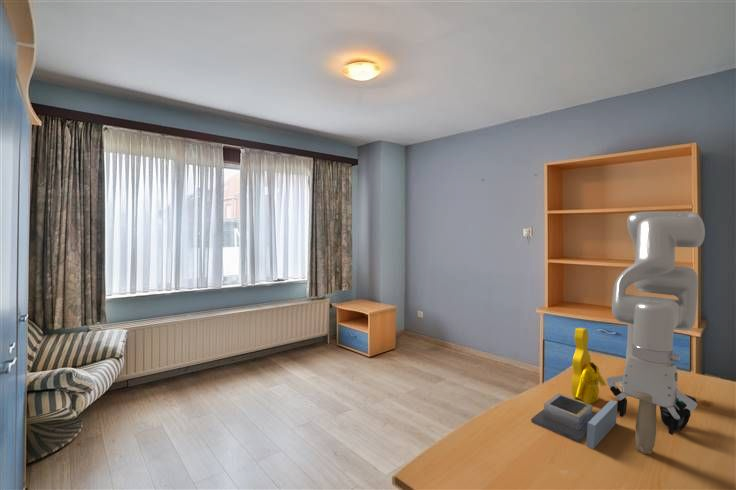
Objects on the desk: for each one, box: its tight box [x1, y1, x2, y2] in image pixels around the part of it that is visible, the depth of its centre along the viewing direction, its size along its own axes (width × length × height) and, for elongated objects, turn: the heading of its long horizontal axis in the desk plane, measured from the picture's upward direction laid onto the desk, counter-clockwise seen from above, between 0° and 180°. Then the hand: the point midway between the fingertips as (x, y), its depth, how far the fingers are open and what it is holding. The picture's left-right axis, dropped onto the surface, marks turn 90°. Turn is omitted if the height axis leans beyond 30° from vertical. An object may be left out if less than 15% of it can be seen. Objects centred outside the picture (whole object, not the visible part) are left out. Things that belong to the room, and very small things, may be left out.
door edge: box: [585, 399, 618, 450], centre depth 94 cm, size 18×2×6 cm, turn 131°
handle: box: [635, 392, 657, 455], centre depth 87 cm, size 5×6×15 cm
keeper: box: [530, 393, 598, 443], centre depth 100 cm, size 18×12×4 cm, turn 131°
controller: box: [659, 393, 698, 431], centre depth 98 cm, size 4×12×10 cm, turn 115°
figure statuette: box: [571, 327, 607, 405], centre depth 113 cm, size 18×8×22 cm, turn 123°
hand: (646, 423), depth 86 cm, fingers open, 9 cm apart
